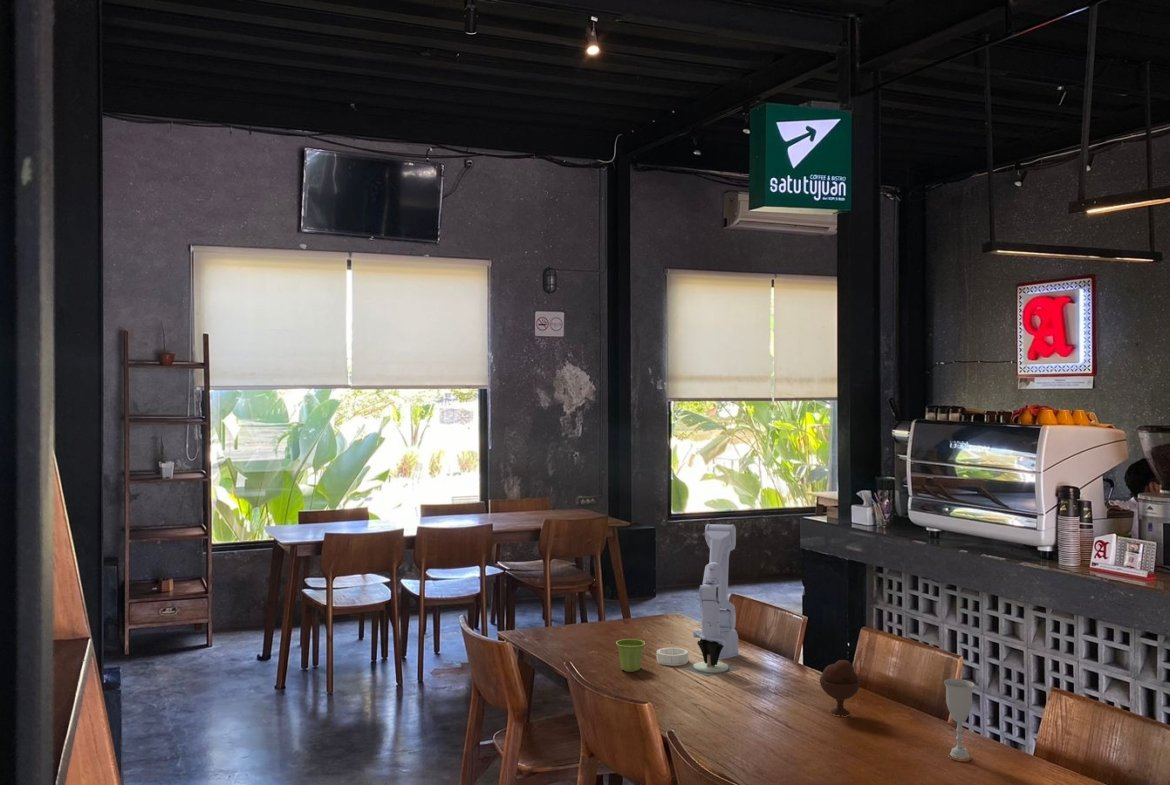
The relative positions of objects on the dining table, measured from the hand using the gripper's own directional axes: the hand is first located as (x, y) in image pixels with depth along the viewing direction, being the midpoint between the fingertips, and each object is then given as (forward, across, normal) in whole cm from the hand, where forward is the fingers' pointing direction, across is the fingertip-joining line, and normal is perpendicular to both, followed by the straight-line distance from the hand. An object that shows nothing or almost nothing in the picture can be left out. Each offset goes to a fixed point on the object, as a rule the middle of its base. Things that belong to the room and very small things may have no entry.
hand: (710, 663), depth 317 cm
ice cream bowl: (+2, +54, -3) cm, 54 cm away
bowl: (+2, -14, -4) cm, 15 cm away
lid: (+1, 0, 0) cm, 1 cm away
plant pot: (+2, -16, -20) cm, 26 cm away
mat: (+2, 0, 0) cm, 2 cm away
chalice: (+2, +93, -7) cm, 93 cm away
